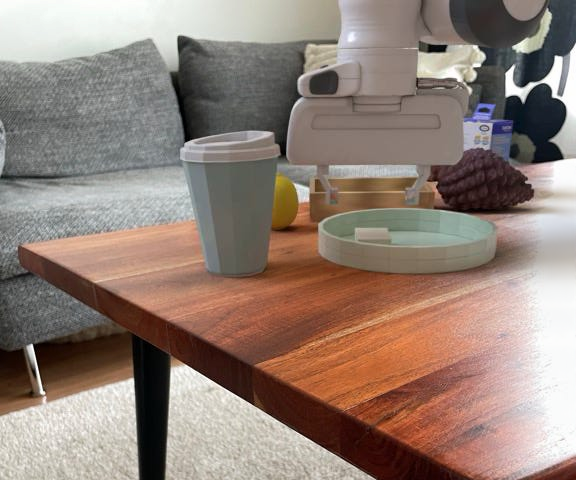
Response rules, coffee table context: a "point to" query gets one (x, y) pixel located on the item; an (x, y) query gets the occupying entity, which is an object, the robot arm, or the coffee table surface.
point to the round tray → (409, 240)
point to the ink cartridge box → (488, 132)
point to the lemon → (284, 203)
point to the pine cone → (481, 182)
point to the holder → (365, 195)
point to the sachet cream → (373, 236)
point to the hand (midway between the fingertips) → (371, 204)
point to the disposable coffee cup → (233, 198)
